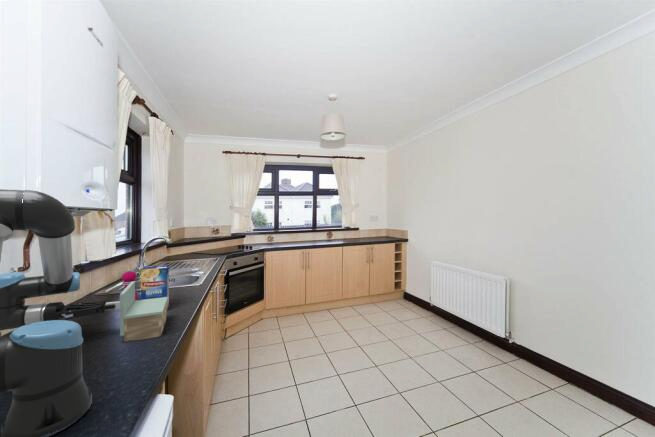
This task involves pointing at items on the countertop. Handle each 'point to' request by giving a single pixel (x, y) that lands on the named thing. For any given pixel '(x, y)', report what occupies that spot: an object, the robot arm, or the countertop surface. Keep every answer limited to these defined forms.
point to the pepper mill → (129, 280)
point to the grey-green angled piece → (138, 306)
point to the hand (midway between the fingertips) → (125, 304)
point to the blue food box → (155, 282)
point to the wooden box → (144, 327)
